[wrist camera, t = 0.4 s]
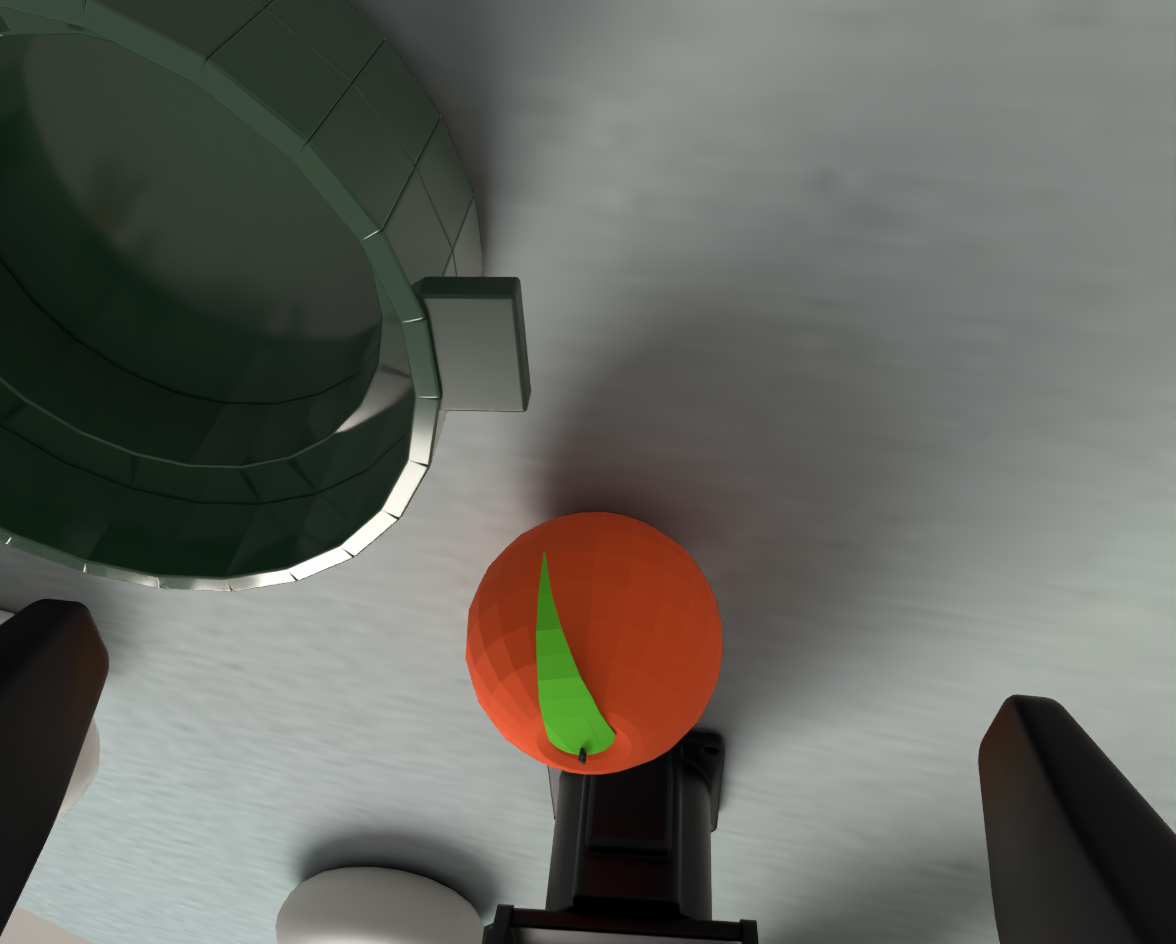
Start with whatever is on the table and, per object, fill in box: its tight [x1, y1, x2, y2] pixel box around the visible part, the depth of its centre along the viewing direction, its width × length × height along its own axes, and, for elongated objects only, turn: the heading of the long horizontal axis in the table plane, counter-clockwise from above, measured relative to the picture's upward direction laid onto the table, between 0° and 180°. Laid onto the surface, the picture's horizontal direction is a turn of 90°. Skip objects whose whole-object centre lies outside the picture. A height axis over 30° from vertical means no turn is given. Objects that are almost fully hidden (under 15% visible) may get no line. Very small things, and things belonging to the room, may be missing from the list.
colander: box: [0, 0, 483, 591], centre depth 20 cm, size 13×13×6 cm
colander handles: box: [419, 276, 531, 412], centre depth 18 cm, size 3×17×1 cm, turn 92°
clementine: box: [466, 512, 723, 774], centre depth 25 cm, size 8×7×7 cm
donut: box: [276, 867, 484, 944], centre depth 45 cm, size 10×4×10 cm
